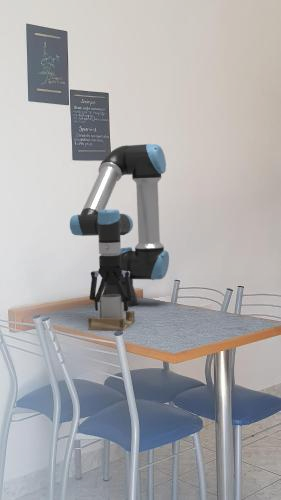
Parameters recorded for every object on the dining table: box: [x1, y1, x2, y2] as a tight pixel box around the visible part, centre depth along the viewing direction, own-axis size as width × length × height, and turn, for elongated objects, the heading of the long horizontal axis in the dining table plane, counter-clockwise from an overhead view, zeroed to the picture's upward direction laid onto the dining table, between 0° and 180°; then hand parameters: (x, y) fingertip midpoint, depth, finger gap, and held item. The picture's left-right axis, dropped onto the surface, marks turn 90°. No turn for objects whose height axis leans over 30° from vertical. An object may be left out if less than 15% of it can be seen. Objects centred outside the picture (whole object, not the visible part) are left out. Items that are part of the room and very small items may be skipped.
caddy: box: [87, 310, 135, 331], centre depth 224 cm, size 15×12×4 cm
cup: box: [100, 294, 122, 319], centre depth 224 cm, size 7×10×9 cm
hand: (112, 320), depth 224 cm, fingers closed on cup, 8 cm apart
